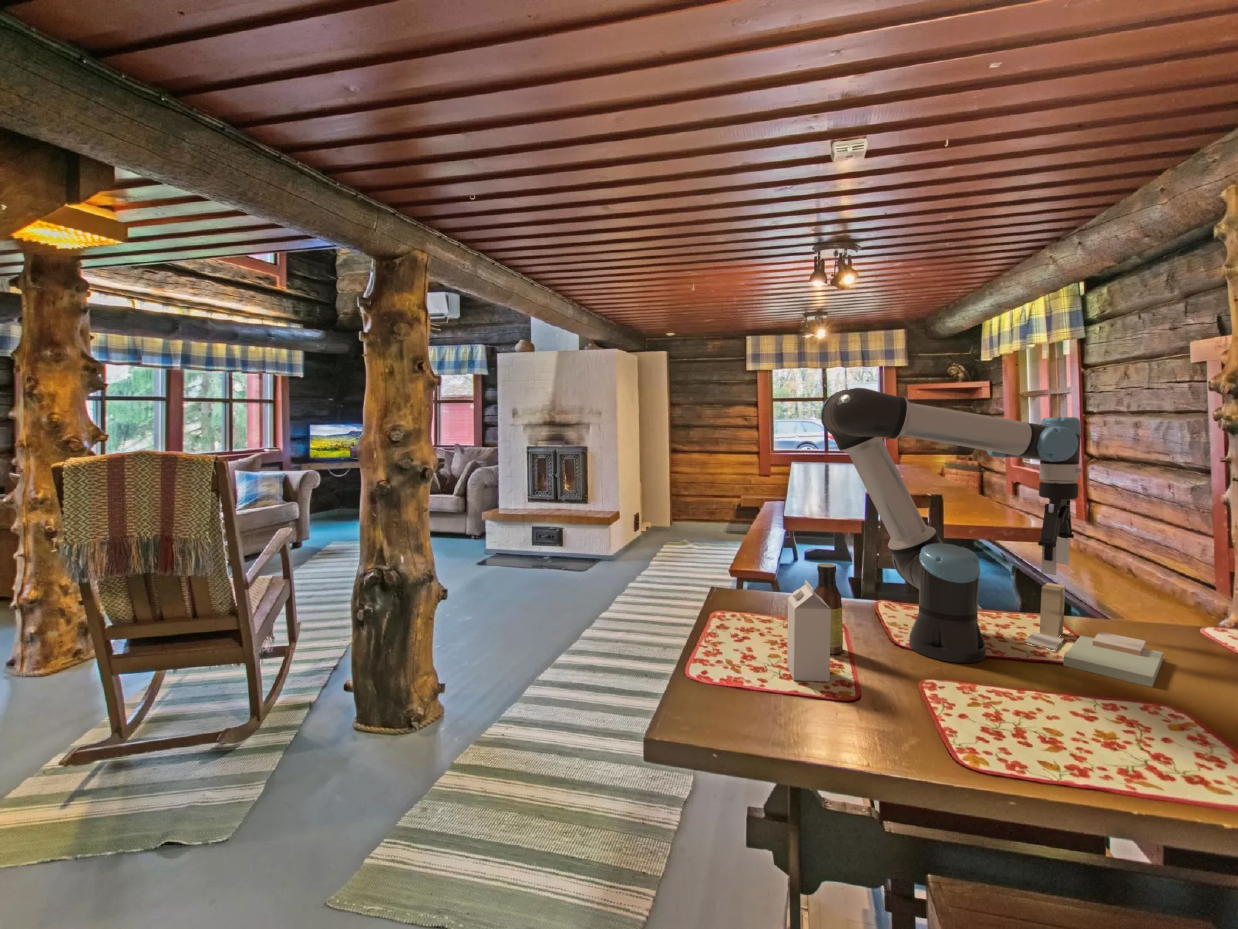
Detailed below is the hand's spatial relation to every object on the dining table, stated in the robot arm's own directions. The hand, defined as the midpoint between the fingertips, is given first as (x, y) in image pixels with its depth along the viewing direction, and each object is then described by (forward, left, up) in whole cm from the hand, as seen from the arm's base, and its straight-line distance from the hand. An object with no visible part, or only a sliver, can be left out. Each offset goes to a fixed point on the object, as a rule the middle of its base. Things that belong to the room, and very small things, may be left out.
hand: (1055, 568), depth 139 cm
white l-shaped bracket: (-3, -3, -16) cm, 17 cm away
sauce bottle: (-58, -12, -17) cm, 61 cm away
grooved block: (+1, -17, -16) cm, 24 cm away
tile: (+6, -12, -14) cm, 20 cm away
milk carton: (-66, -25, -17) cm, 72 cm away
